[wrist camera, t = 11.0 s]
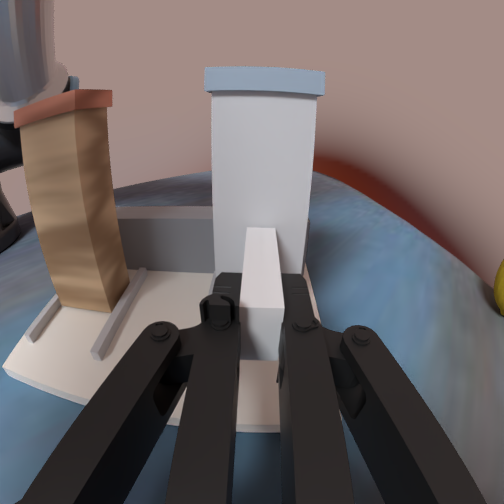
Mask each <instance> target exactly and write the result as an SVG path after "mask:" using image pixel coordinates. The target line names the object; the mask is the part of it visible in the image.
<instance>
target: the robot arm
mask: <svg viewBox="0 0 504 504" xmlns="http://www.w3.org/2000/svg"><path fill="white" fill-rule="evenodd" d="M54 48H55V47H54V0H0V173H2V172H5V171H7V170H11V169H14V168H17V167H21V166H24V164H23V156H22V147H21V136H20V127H18V128H14V111H15V110H18V109H20V108H22V107H25V106H27V105H30V104H33V103H35V102H38V101H41V100H43V99H46V98H49V97H52V96H55V95H58V94H61V93H65V92H68V91H71V90H75V89H79V78H78V77H75V76H74V77H73V76H68V73H67V69H66V67H65V66H64V65H63V64H62V63H60V62H58V61H55V49H54ZM19 234H20V227H19V223H18V219H17V217H16V215H15V213H14V211H13V210H12V208H11V206H10V204H9V202H8V201H7V199H6V197H5V195H4V193H3V191H2V188H1V184H0V252H1V251H3V250H4V249H5V248H7V247H8V246H9V245H10V244H11V243H13V242H14V241H15V240H16V238H17V237H18V236H19ZM199 307H200V316H201V323H200V324H199V325H196V326H194V327H191V328H186V329H178V328H177V326H176V325H175V324H173V323H171V322H167V321H159V322H154V323H152V324H150V325H148V326H147V327H146V328H145V329H144V330H143V331H142V332H141V334H140V335H139V336H138V338H137V339H136V340H135V341H134V343H133V344H132V345H131V347H130V348H129V349H128V350H127V352H126V353H125V354H124V356H123V357H122V358H121V359H120V361H119V362H118V363H117V365H116V366H115V367H114V369H113V370H112V371H111V372H110V374H109V375H108V376H107V378H106V379H105V380H104V382H103V383H102V384H101V386H100V387H99V388H98V390H97V391H96V392H95V394H94V395H93V396H92V398H91V399H90V401H89V402H88V403H87V405H86V406H85V407H84V409H83V410H82V411H81V413H80V414H79V416H78V417H77V418H76V420H75V421H74V423H73V424H72V425H71V427H70V428H69V430H68V431H67V432H66V434H65V435H64V437H63V438H62V440H61V441H60V442H59V444H58V445H57V447H56V448H55V450H54V451H53V453H52V454H51V455H50V457H49V458H48V460H47V461H46V463H45V464H44V466H43V467H42V469H41V470H40V472H39V473H38V475H37V476H36V478H35V479H34V481H33V482H32V484H31V485H30V487H29V489H28V490H27V492H26V493H25V495H24V496H23V498H22V500H20V501H18V502H17V503H15V504H123V503H124V501H125V499H126V498H127V496H128V494H129V492H130V490H131V488H132V487H133V485H134V483H135V481H136V479H137V478H138V476H139V474H140V472H141V470H142V468H143V467H144V465H145V463H146V461H147V459H148V457H149V456H150V454H151V452H152V450H153V448H154V446H155V444H156V443H157V441H158V439H159V437H160V435H161V433H162V432H163V430H164V428H165V426H166V424H167V422H168V420H169V419H170V417H171V415H172V413H173V411H174V409H175V407H176V406H177V404H178V402H179V400H180V398H181V396H182V394H183V393H184V391H185V389H186V387H187V389H186V393H185V398H184V403H183V408H182V413H181V418H180V423H179V428H178V433H177V438H176V443H175V449H174V454H173V460H172V465H171V471H170V476H169V482H168V488H167V494H166V500H165V504H232V487H233V471H234V454H235V438H236V422H237V407H238V391H239V376H240V360H261V361H278V356H279V367H278V373H277V380H276V383H278V388H279V413H280V442H281V479H282V504H354V497H353V489H352V482H351V475H350V468H349V462H348V455H347V449H346V443H345V437H344V432H343V426H342V421H341V415H340V411H341V413H342V415H343V417H344V419H345V421H346V423H347V425H348V427H349V429H350V431H351V433H352V435H353V438H354V440H355V442H356V444H357V446H358V448H359V450H360V452H361V454H362V456H363V458H364V460H365V462H366V464H367V466H368V468H369V470H370V473H371V475H372V477H373V479H374V481H375V483H376V485H377V487H378V489H379V491H380V493H381V495H382V498H383V500H384V502H385V504H487V503H486V502H485V500H484V498H483V496H482V494H481V492H480V491H479V489H478V487H477V485H476V483H475V482H474V480H473V478H472V476H471V475H470V473H469V471H468V470H467V468H466V466H465V465H464V463H463V461H462V459H461V458H460V456H459V455H458V453H457V451H456V450H455V448H454V446H453V445H452V443H451V442H450V440H449V438H448V437H447V435H446V434H445V432H444V431H443V429H442V427H441V426H440V424H439V423H438V421H437V420H436V418H435V417H434V415H433V414H432V412H431V411H430V409H429V408H428V406H427V405H426V403H425V402H424V400H423V399H422V397H421V396H420V394H419V393H418V391H417V390H416V388H415V387H414V385H413V384H412V383H411V381H410V380H409V378H408V377H407V375H406V374H405V373H404V371H403V370H402V368H401V367H400V365H399V364H398V363H397V361H396V360H395V358H394V357H393V356H392V354H391V353H390V352H389V350H388V349H387V347H386V346H385V345H384V343H383V342H382V341H381V339H380V338H379V337H378V335H377V334H376V333H375V332H374V331H373V330H372V329H370V328H368V327H366V326H361V325H355V326H351V327H348V328H347V329H346V330H345V331H344V333H340V332H335V331H331V330H328V329H326V328H324V327H322V325H321V323H320V321H319V320H318V319H316V318H315V316H314V311H313V307H312V303H311V298H310V295H309V290H308V286H307V281H306V279H305V278H304V277H303V276H302V275H301V274H292V273H281V272H280V263H279V255H278V246H277V238H276V230H275V228H257V227H247V232H246V242H245V252H244V262H243V273H232V272H221V273H220V274H219V275H218V276H217V277H216V278H215V282H214V287H213V291H212V294H211V295H208V296H206V297H205V298H203V299H202V300H201V302H200V303H199ZM339 409H340V410H339Z"/></svg>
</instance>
